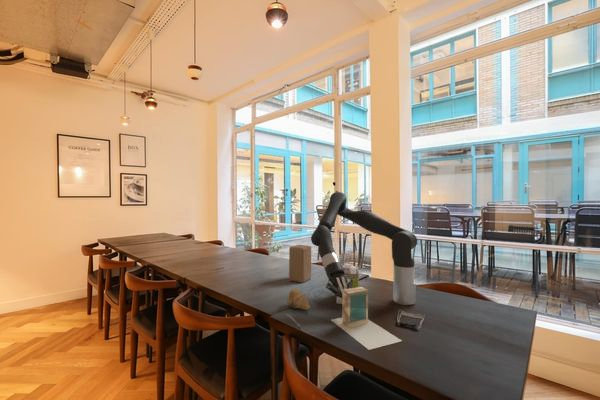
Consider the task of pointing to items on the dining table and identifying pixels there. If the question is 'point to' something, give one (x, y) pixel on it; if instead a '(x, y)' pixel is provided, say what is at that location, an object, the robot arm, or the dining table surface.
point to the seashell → (298, 300)
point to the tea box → (352, 274)
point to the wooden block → (300, 263)
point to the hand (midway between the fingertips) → (347, 303)
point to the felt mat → (369, 334)
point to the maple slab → (354, 307)
